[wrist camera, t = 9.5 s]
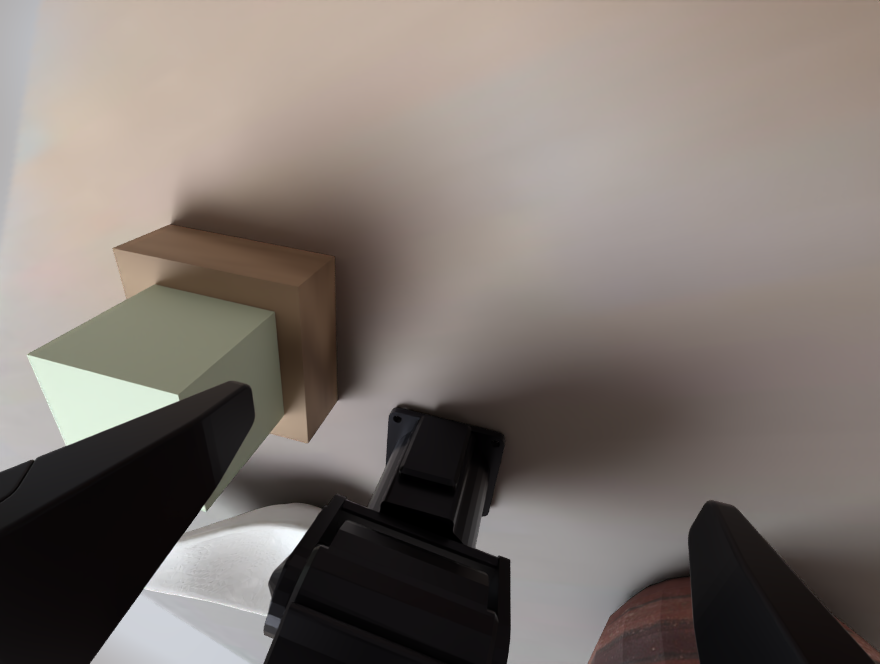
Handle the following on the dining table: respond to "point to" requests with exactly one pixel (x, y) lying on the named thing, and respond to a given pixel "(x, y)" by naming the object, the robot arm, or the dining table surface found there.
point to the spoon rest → (234, 557)
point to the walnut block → (255, 304)
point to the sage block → (161, 364)
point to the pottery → (662, 629)
